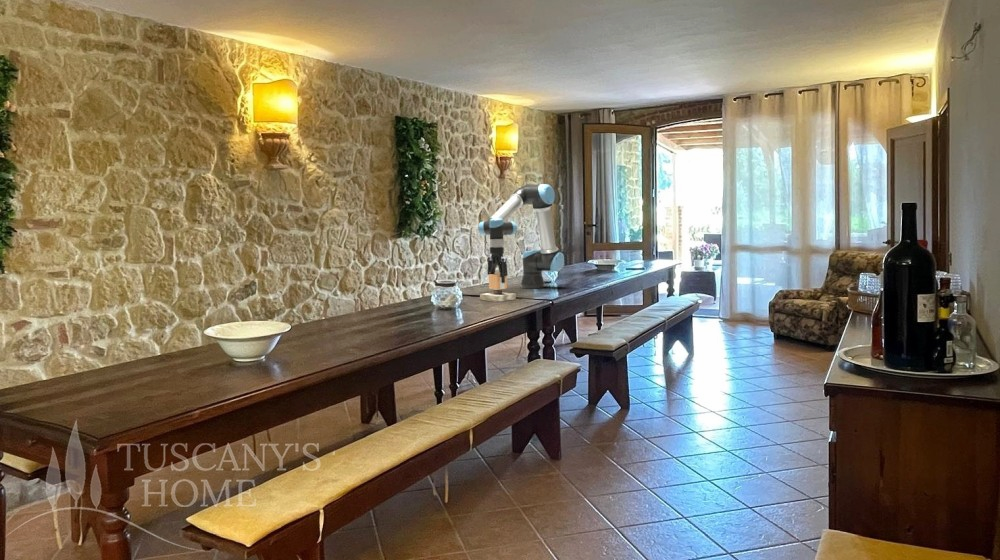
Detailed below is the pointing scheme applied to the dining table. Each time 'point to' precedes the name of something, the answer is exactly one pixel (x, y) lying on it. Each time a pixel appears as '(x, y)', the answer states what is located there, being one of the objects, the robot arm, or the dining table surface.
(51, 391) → the dining table surface
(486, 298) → the hub
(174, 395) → the dining table surface
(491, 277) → the orange block
